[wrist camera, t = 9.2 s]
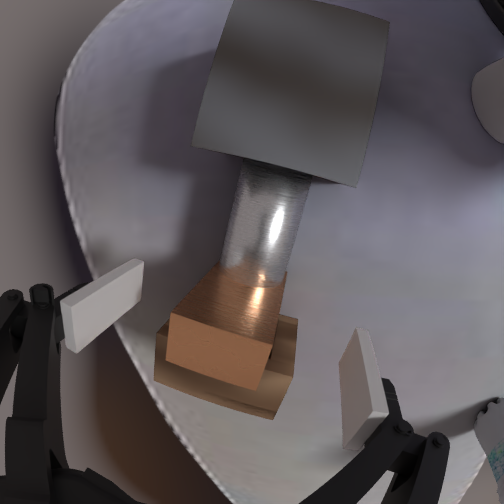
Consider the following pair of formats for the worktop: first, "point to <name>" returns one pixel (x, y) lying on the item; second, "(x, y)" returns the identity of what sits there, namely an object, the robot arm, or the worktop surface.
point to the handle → (242, 280)
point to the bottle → (493, 440)
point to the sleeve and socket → (285, 134)
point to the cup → (490, 98)
